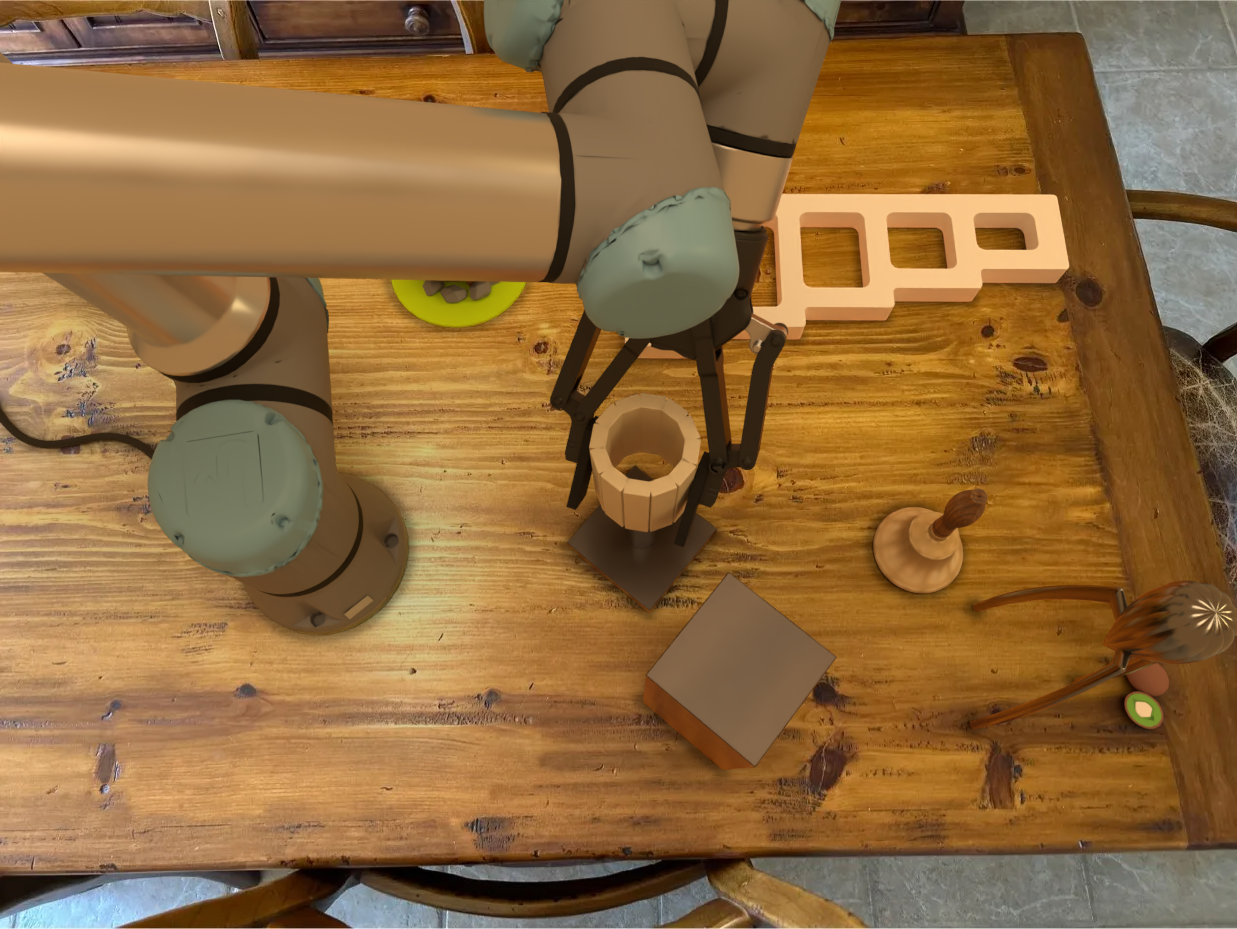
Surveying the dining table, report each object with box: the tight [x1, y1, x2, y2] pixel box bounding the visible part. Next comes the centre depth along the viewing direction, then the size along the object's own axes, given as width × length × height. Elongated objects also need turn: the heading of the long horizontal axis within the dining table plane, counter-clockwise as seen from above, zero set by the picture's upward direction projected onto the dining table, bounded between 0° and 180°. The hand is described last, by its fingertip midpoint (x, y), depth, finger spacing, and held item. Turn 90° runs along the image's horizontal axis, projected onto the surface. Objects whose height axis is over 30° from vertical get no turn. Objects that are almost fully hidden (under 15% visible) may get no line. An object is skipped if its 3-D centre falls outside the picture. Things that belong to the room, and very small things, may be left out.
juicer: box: [968, 579, 1237, 730], centre depth 65 cm, size 10×11×30 cm
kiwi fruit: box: [1123, 656, 1170, 730], centre depth 77 cm, size 6×5×3 cm
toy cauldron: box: [390, 280, 527, 329], centre depth 89 cm, size 15×15×11 cm
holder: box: [624, 193, 1070, 360], centre depth 91 cm, size 45×18×3 cm, turn 89°
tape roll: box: [589, 392, 702, 532], centre depth 64 cm, size 7×7×9 cm
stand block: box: [642, 571, 837, 771], centre depth 69 cm, size 9×9×22 cm
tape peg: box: [566, 464, 718, 614], centre depth 78 cm, size 10×10×12 cm
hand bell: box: [872, 487, 988, 594], centre depth 75 cm, size 8×8×16 cm
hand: (629, 518), depth 65 cm, fingers closed on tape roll, 8 cm apart
